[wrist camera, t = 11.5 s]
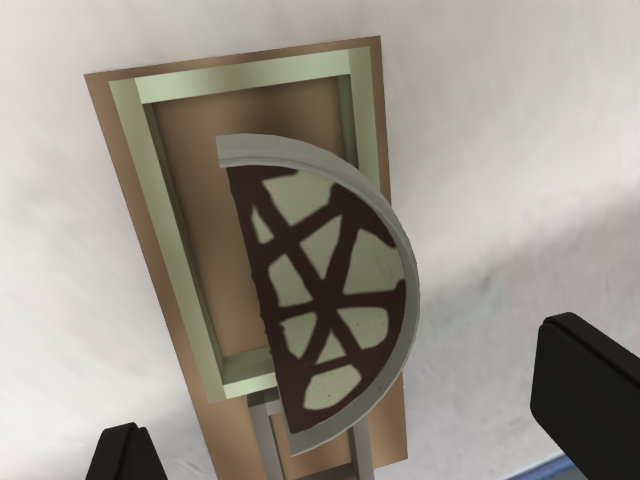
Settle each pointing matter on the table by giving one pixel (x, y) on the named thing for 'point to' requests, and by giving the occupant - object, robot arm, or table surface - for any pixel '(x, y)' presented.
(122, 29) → the table surface
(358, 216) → the food container
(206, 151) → the fitting board
